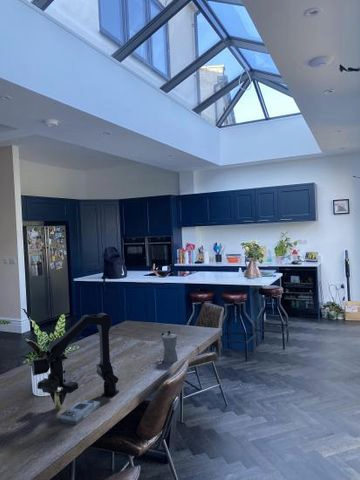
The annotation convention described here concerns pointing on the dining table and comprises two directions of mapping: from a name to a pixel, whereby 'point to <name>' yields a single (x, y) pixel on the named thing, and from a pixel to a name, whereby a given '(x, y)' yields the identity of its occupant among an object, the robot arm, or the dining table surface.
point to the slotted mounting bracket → (79, 411)
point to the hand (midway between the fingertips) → (58, 404)
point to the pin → (57, 400)
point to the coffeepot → (169, 347)
